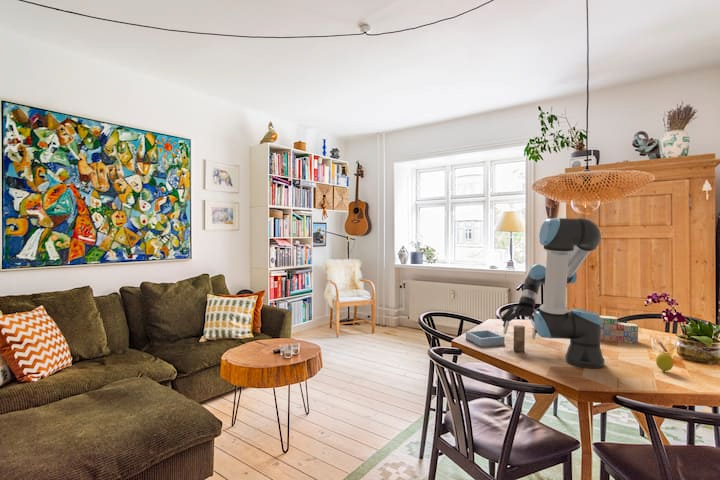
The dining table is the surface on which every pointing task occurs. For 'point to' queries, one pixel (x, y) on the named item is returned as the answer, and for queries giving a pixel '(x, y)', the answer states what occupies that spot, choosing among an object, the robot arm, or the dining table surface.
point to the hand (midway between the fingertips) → (518, 335)
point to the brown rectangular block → (519, 339)
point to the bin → (485, 338)
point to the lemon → (664, 362)
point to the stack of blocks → (618, 330)
